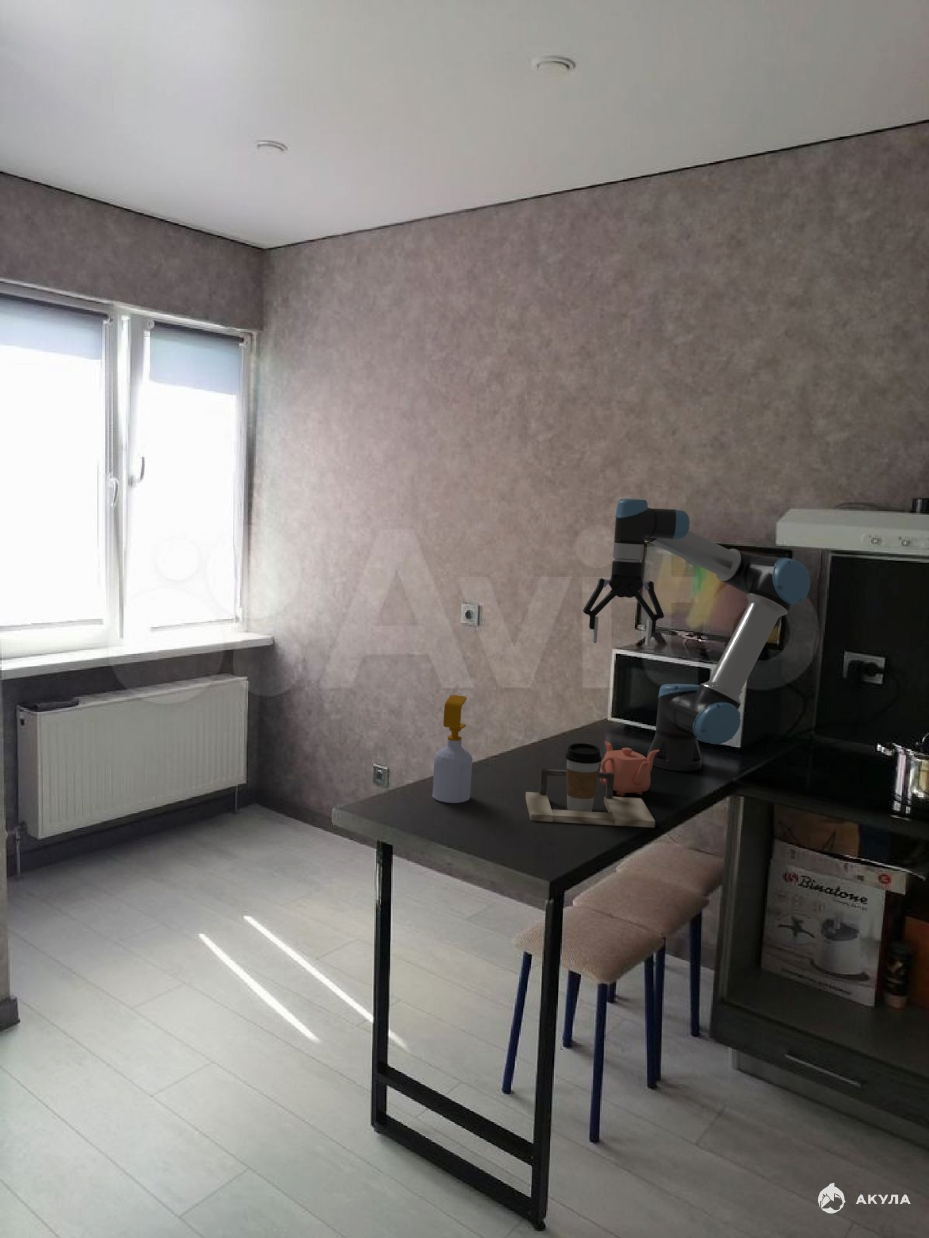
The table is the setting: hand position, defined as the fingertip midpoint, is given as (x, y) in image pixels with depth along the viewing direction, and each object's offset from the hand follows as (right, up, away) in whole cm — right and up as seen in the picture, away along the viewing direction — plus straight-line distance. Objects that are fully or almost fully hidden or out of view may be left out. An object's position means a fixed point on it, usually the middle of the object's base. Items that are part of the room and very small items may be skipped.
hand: (620, 643), depth 232 cm
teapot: (+2, -37, 0) cm, 37 cm away
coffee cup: (-13, -39, -18) cm, 44 cm away
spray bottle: (-43, -36, -15) cm, 58 cm away
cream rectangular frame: (-11, -39, -19) cm, 45 cm away
